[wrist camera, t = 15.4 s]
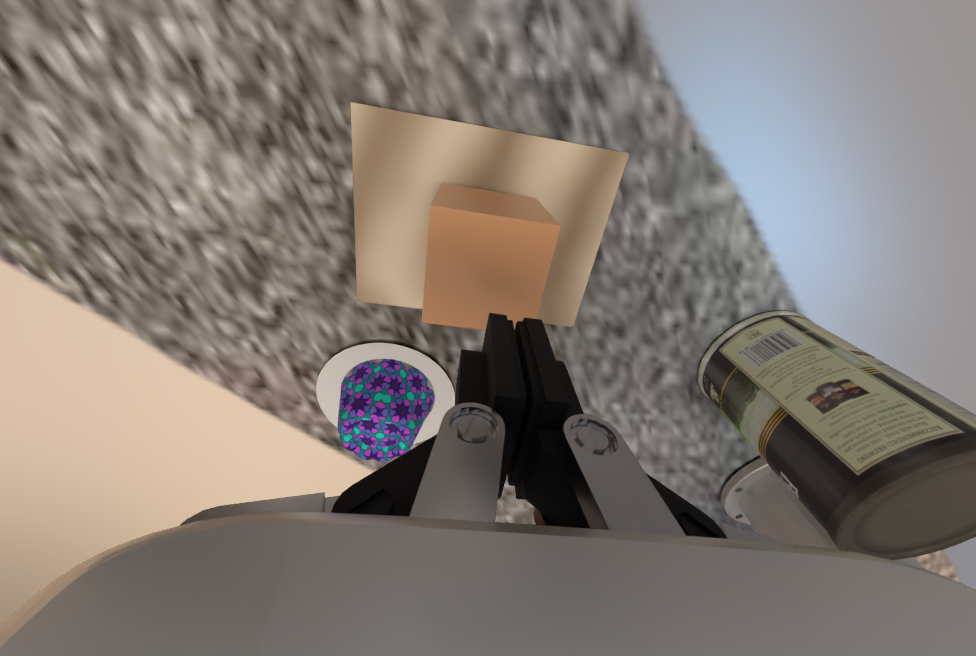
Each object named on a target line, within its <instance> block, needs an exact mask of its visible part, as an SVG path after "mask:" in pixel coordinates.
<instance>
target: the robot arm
mask: <svg viewBox="0 0 976 656" xmlns="http://www.w3.org/2000/svg"><path fill="white" fill-rule="evenodd" d="M507 474H508V483H509V485H514V486H515V492H516V499H526V500H527V501H529V502H530V503H531V504H532V505H533V506H534V512H533V514H534V521H535V524H536V525H530V524H515V523H500V522H495V520H496V510H497V501H498V499H499V498H500V497H501V495H502V491H503V487H504V484H505V480H506V476H507ZM721 504H722V506H723V508H724V510H725V511H726V512H727V514H728V515H729V516H730V517H731V518H732V519H734V520H736V521H738V522H741V523H745V524H752V526H753V527H754V529H755V530H756V531H757V533H756V532H753V531H749V530H746V529H743V528H739V527H736V526H732V525H729V524H725V523H722V522H721V523H720V524H719V526H718V525H717V524H716V523H715V522H714V521H713V520H712V519H711V518H709V517H708V516H707V515H706V514H705V513H703V512H702V511H700V510H699V509H698V508H696V507H695V506H693V505H692V504H690V503H689V502H687V501H686V500H684V499H683V498H681V497H680V496H679V495H677V494H676V493H674V492H673V491H671V490H670V489H668V488H667V487H665V486H664V485H663V484H661V483H660V482H658V481H657V480H655V479H654V478H652V477H651V476H649V475H648V474H647V473H645V472H644V470H643V468H642V467H641V465H640V464H639V462H638V461H637V459H636V458H635V456H634V455H633V453H632V451H631V450H630V448H629V447H628V445H627V444H626V442H625V441H624V439H623V438H622V436H621V435H620V434H619V432H618V431H617V430H616V429H615V428H614V427H613V426H612V425H610V424H609V423H608V422H606V421H604V420H602V419H600V418H598V417H595V416H592V415H586V414H583V411H582V408H581V406H580V403H579V400H578V398H577V395H576V392H575V390H574V387H573V384H572V382H571V379H570V376H569V374H568V371H567V368H566V366H565V364H564V362H562V361H556V360H555V357H554V354H553V351H552V348H551V345H550V342H549V339H548V336H547V334H546V331H545V328H544V325H543V322H542V320H541V319H533V318H525V317H524V318H523V321H517V322H516V326H515V330H514V325H513V320H507V315H502V314H495V313H489V316H488V321H487V326H486V332H485V338H484V343H483V349H482V352H479V351H470V350H461V356H460V362H459V369H458V377H457V385H456V394H455V406H453V407H452V408H450V409H449V410H448V411H447V412H446V413H445V415H444V417H443V419H442V422H441V425H440V428H439V431H438V434H437V435H435V436H434V437H432V438H430V439H429V440H427V441H425V442H424V443H422V444H420V445H418V446H417V447H415V448H413V449H412V450H410V451H408V452H407V453H405V454H403V455H402V456H400V457H398V458H397V459H395V460H393V461H392V462H390V463H388V464H387V465H385V466H383V467H382V468H380V469H378V470H377V471H375V472H373V473H372V474H370V475H368V476H367V477H365V478H363V479H362V480H360V481H359V482H357V483H355V484H353V485H352V486H351V487H349V488H348V489H347V490H346V491H344V492H343V493H342V494H341V495H340V496H335V497H327V498H325V493H316V494H308V495H301V496H294V497H285V498H277V499H270V500H262V501H255V502H246V503H239V504H231V505H224V506H218V507H214V508H210V509H207V510H203V511H201V512H199V513H198V514H196V515H194V516H192V517H190V518H188V519H187V520H185V521H184V522H183V523H182V524H181V525H180V526H177V527H174V528H170V529H166V530H162V531H158V532H155V533H151V534H149V535H146V536H143V537H140V538H137V539H134V540H131V541H129V542H126V543H123V544H121V545H119V546H116V547H114V548H111V549H109V550H106V551H104V552H102V553H100V554H98V555H96V556H95V557H92V558H90V559H88V560H86V561H84V562H82V563H81V564H79V565H77V566H76V567H74V568H73V569H71V570H69V571H68V572H66V573H65V574H64V575H62V576H60V577H59V578H57V579H56V580H54V581H53V582H51V583H50V584H49V585H47V586H46V587H45V588H43V589H42V590H41V591H39V592H38V593H37V594H36V595H34V596H33V597H32V598H30V599H29V600H28V601H27V602H25V603H24V604H23V605H22V606H21V607H19V608H18V609H17V610H16V611H15V612H13V613H12V614H11V615H10V616H9V617H8V618H6V619H5V620H4V621H3V622H1V624H0V656H976V590H975V589H973V588H971V587H968V586H966V585H963V584H961V583H958V582H956V581H953V580H951V579H949V578H946V577H944V576H941V575H939V574H936V573H933V572H931V571H928V570H926V569H925V568H924V567H923V566H922V565H921V564H920V563H919V562H918V561H917V560H916V559H915V558H914V557H912V558H905V559H898V560H890V559H886V558H881V557H876V556H872V555H867V554H862V553H857V552H850V551H843V550H839V548H838V547H837V546H836V545H835V544H834V542H833V541H832V540H831V538H830V537H829V534H828V532H827V531H826V530H825V529H824V528H823V527H822V525H821V524H820V523H819V522H818V521H817V520H816V519H815V518H814V516H813V515H812V514H811V513H810V512H809V511H808V510H807V508H806V507H805V506H804V505H803V504H802V503H801V502H800V501H799V499H798V498H797V497H796V496H795V495H794V494H793V493H792V492H791V490H790V489H789V488H788V487H787V486H786V485H785V483H784V482H783V481H782V480H781V479H780V478H779V477H778V476H777V475H776V473H775V472H774V471H773V470H772V469H771V468H770V466H769V465H768V464H767V463H766V462H765V461H764V460H763V458H762V457H761V458H759V459H757V460H755V461H753V462H751V463H749V464H748V465H746V466H745V467H743V468H742V469H740V470H739V471H738V472H737V473H735V474H734V475H733V476H732V477H731V478H730V479H729V481H728V482H727V483H726V485H725V486H724V488H723V490H722V493H721Z"/></svg>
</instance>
